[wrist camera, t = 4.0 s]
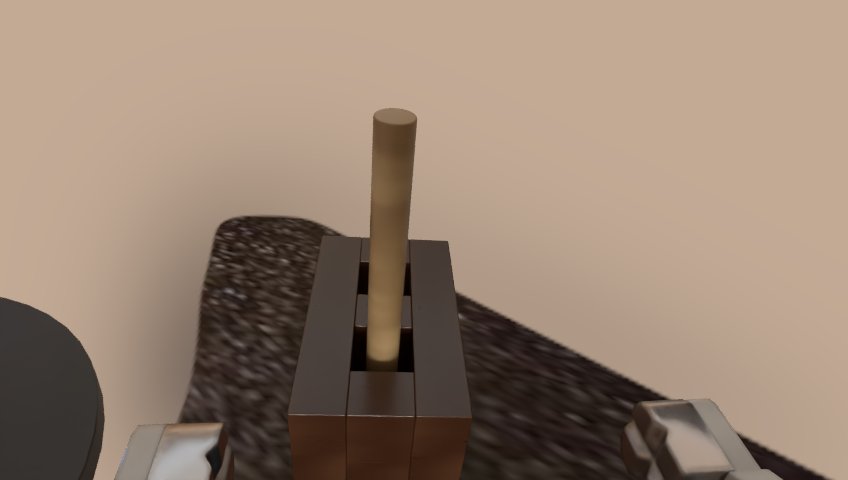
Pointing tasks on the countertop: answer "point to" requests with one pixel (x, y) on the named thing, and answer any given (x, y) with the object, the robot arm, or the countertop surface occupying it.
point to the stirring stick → (389, 233)
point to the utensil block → (380, 374)
